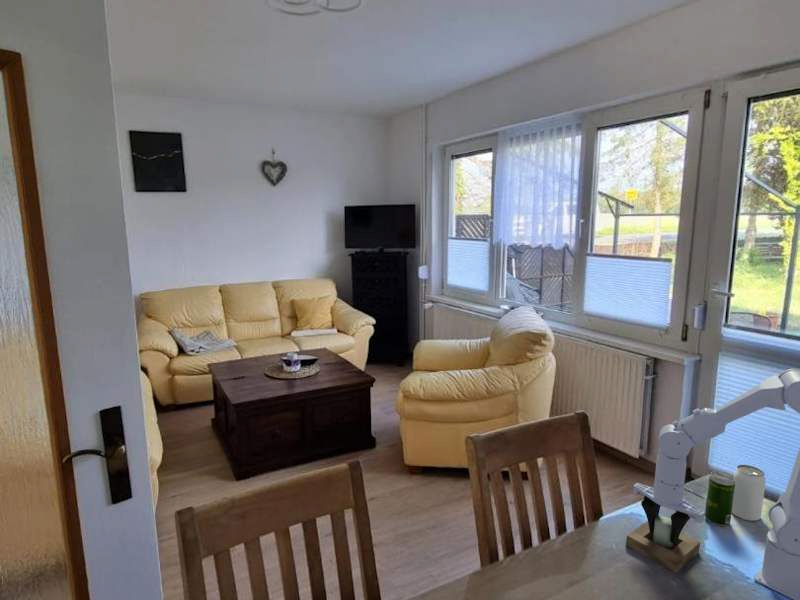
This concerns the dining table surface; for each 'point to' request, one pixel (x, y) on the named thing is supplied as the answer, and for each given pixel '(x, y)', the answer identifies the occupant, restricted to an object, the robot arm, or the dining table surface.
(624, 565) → the dining table surface
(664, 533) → the peg
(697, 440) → the robot arm
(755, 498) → the can
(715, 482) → the beer can
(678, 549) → the socket
